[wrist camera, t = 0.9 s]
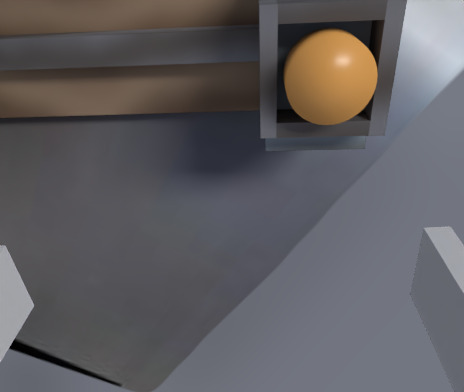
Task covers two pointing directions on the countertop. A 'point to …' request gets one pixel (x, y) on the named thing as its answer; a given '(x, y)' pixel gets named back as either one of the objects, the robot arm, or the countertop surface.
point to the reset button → (329, 76)
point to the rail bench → (127, 78)
